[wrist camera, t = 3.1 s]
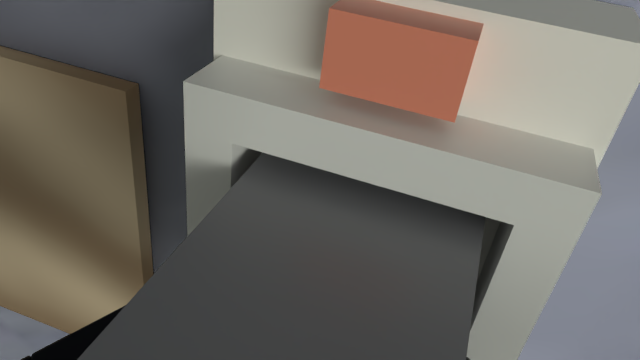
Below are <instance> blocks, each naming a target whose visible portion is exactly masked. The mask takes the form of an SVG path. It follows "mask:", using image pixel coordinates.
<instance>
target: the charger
mask: <svg viewBox="0 0 640 360" xmlns="http://www.w3.org/2000/svg"><path fill="white" fill-rule="evenodd" d="M485 218H486V217H484V216H481V215H477V214H474V213H470V212H467V211H463V210H460V209H456V208H453V207H449V206H446V205H443V204H439V203H436V202H432V201H429V200H425V199H422V198H418V197H415V196H411V195H408V194H405V193H401V192H398V191H394V190H391V189H387V188H384V187H380V186H377V185H374V184H370V183H367V182H363V181H360V180H356V179H353V178H349V177H346V176H342V175H339V174H336V173H332V172H329V171H325V170H322V169H318V168H315V167H311V166H308V165H304V164H301V163H298V162H294V161H291V160H287V159H284V158H280V157H277V156H273V155H270V154H266V153H262V154H261V155H260V156H259V157H258V158H257V160H256V161H255V162H254V163H253V164H252V165H251V166H250V167H249V168H248V170H247V171H246V172H245V173H244V174H243V175H242V176H241V177H240V178H239V180H238V181H237V182H236V183H235V184H234V185H233V186H232V187H231V189H230V190H229V191H228V192H227V193H226V194H225V195H224V196H223V197H222V199H221V200H220V201H219V202H218V203H217V204H216V205H215V206H214V208H213V209H212V210H211V211H210V212H209V213H208V214H207V215H206V216H205V218H204V219H203V220H202V221H201V222H200V223H199V224H198V225H197V226H196V228H195V229H194V230H193V231H192V232H191V233H190V234H189V235H188V237H187V238H186V239H185V240H184V241H183V242H182V243H181V244H180V245H179V247H178V248H177V249H176V250H175V251H174V252H173V253H172V254H171V255H170V257H169V258H168V259H167V260H166V261H165V262H164V263H163V264H162V266H161V267H160V268H159V269H158V270H157V271H156V272H155V273H154V274H153V276H152V277H151V278H150V279H149V280H148V281H147V282H146V283H145V284H144V286H143V287H142V288H141V289H140V290H139V291H138V292H137V293H136V295H135V296H134V297H133V298H132V299H131V300H130V301H129V302H128V303H127V305H126V306H125V307H124V308H123V309H122V310H121V311H120V312H119V313H118V315H117V316H116V317H115V318H114V319H113V320H112V321H111V322H110V324H109V325H108V326H107V327H106V328H105V329H104V330H103V331H102V332H101V334H100V335H99V336H98V337H97V338H96V339H95V340H94V341H93V342H92V344H91V345H90V346H89V347H88V348H87V349H86V350H85V351H84V353H83V354H82V355H81V356H80V357H79V358H78V359H77V360H466V356H467V349H468V342H469V334H470V327H471V320H472V313H473V305H474V298H475V291H476V283H477V276H478V269H479V262H480V254H481V247H482V240H483V233H484V225H485Z"/></svg>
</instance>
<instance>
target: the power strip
mask: <svg viewBox="0 0 640 360" xmlns="http://www.w3.org/2000/svg"><path fill="white" fill-rule="evenodd" d="M639 82H640V18H639V17H638V15H637V13H636V12H635V10H634V8H631V7H626V6H621V5H616V4H611V3H605V2H600V1H595V0H214V61H213V62H212V63H210V64H208V65H207V66H205V67H204V68H202V69H201V70H199V71H198V72H196V73H195V74H193V75H192V76H190V77H189V78H187V79H186V80H184V81H183V94H184V130H185V166H186V202H187V237H188V235H189V234H190V233H191V232H192V231H193V230H194V229H195V228H196V226H197V225H198V224H199V223H200V222H201V221H202V220H203V219H204V218H205V216H206V215H207V214H208V213H209V212H210V211H211V210H212V209H213V208H214V206H215V205H216V204H217V203H218V202H219V201H220V200H221V199H222V197H223V196H224V195H225V194H226V193H227V192H228V191H229V190H230V189H231V187H232V186H233V185H234V184H235V183H236V182H237V181H238V180H239V178H240V177H241V176H242V175H243V174H244V173H245V172H246V171H247V170H248V168H249V167H250V166H251V165H252V164H253V163H254V162H255V161H256V160H257V158H258V157H259V156H260V155H261V154H262V153H266V154H270V155H273V156H277V157H280V158H284V159H287V160H291V161H294V162H298V163H301V164H304V165H308V166H311V167H315V168H318V169H322V170H325V171H329V172H332V173H336V174H339V175H342V176H346V177H349V178H353V179H356V180H360V181H363V182H367V183H370V184H374V185H377V186H380V187H384V188H387V189H391V190H394V191H398V192H401V193H405V194H408V195H411V196H415V197H418V198H422V199H425V200H429V201H432V202H436V203H439V204H443V205H446V206H449V207H453V208H456V209H460V210H463V211H467V212H470V213H474V214H477V215H481V216H484V217H486V218H485V225H484V233H483V240H482V247H481V254H480V262H479V269H478V276H477V283H476V291H475V298H474V305H473V313H472V320H471V327H470V334H469V342H468V349H467V356H466V357H468V358H469V359H470V360H517V359H518V357H519V355H520V353H521V351H522V349H523V347H524V345H525V343H526V341H527V339H528V337H529V335H530V333H531V331H532V330H533V328H534V326H535V324H536V322H537V320H538V318H539V316H540V314H541V312H542V310H543V308H544V306H545V304H546V302H547V300H548V298H549V296H550V294H551V292H552V290H553V288H554V286H555V284H556V283H557V281H558V279H559V277H560V275H561V273H562V271H563V269H564V267H565V265H566V263H567V261H568V259H569V257H570V255H571V253H572V251H573V249H574V247H575V245H576V243H577V241H578V239H579V237H580V236H581V234H582V232H583V230H584V228H585V226H586V224H587V222H588V220H589V218H590V216H591V214H592V212H593V210H594V208H595V206H596V204H597V202H598V200H599V198H600V196H601V194H602V192H601V186H600V181H599V176H598V171H597V168H598V166H599V164H600V162H601V160H602V158H603V156H604V154H605V152H606V150H607V148H608V146H609V144H610V142H611V140H612V138H613V136H614V134H615V132H616V129H617V127H618V125H619V123H620V121H621V119H622V117H623V115H624V113H625V111H626V109H627V107H628V105H629V103H630V101H631V99H632V97H633V95H634V93H635V91H636V89H637V87H638V84H639Z"/></svg>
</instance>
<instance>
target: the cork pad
mask: <svg viewBox="0 0 640 360" xmlns="http://www.w3.org/2000/svg"><path fill="white" fill-rule="evenodd" d="M152 276H153V262H152V249H151V236H150V224H149V211H148V198H147V185H146V173H145V160H144V147H143V134H142V122H141V109H140V96H139V84H138V83H134V82H130V81H127V80H123V79H119V78H116V77H112V76H108V75H105V74H101V73H98V72H94V71H90V70H87V69H83V68H79V67H76V66H72V65H68V64H65V63H61V62H58V61H54V60H50V59H47V58H43V57H39V56H36V55H32V54H28V53H25V52H21V51H18V50H14V49H10V48H7V47H3V46H0V306H2V307H4V308H7V309H9V310H12V311H14V312H17V313H19V314H22V315H24V316H27V317H29V318H32V319H34V320H37V321H39V322H42V323H44V324H47V325H49V326H52V327H54V328H57V329H59V330H62V331H64V332H67V333H69V334H71V333H73V332H75V331H77V330H79V329H81V328H83V327H85V326H87V325H88V324H90V323H92V322H94V321H96V320H98V319H100V318H102V317H104V316H106V315H108V314H110V313H111V312H113V311H115V310H117V309H119V308H121V307H123V306H125V305H127V303H128V302H129V301H130V300H131V299H132V298H133V297H134V296H135V295H136V293H137V292H138V291H139V290H140V289H141V288H142V287H143V286H144V284H145V283H146V282H147V281H148V280H149V279H150V278H151V277H152Z"/></svg>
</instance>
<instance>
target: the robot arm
mask: <svg viewBox="0 0 640 360" xmlns="http://www.w3.org/2000/svg"><path fill="white" fill-rule="evenodd" d="M125 306H126V305H125ZM125 306H123V307H121V308H119V309H117V310H115V311H113V312H111V313H110V314H108V315H106V316H104V317H102V318H100V319H98V320H96V321H94V322H92V323H90V324H88V325H87V326H85V327H83V328H81V329H79V330H77V331H75V332H73V333H71V334H69V335H67V336H65V337H64V338H62V339H60V340H58V341H56V342H54V343H52V344H50V345H48V346H46V347H44V348H42V349H40V350H39V351H37V352H35V353H33V354H32V356H27V357H25V358H23V359H21V360H77V359H78V358H79V357H80V356H81V355H82V354H83V353H84V351H85V350H86V349H87V348H88V347H89V346H90V345H91V344H92V342H93V341H94V340H95V339H96V338H97V337H98V336H99V335H100V334H101V332H102V331H103V330H104V329H105V328H106V327H107V326H108V325H109V324H110V322H111V321H112V320H113V319H114V318H115V317H116V316H117V315H118V313H119V312H120V311H121V310H122V309H123V308H124V307H125ZM466 360H470V359H469V358H468V357H466Z"/></svg>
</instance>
